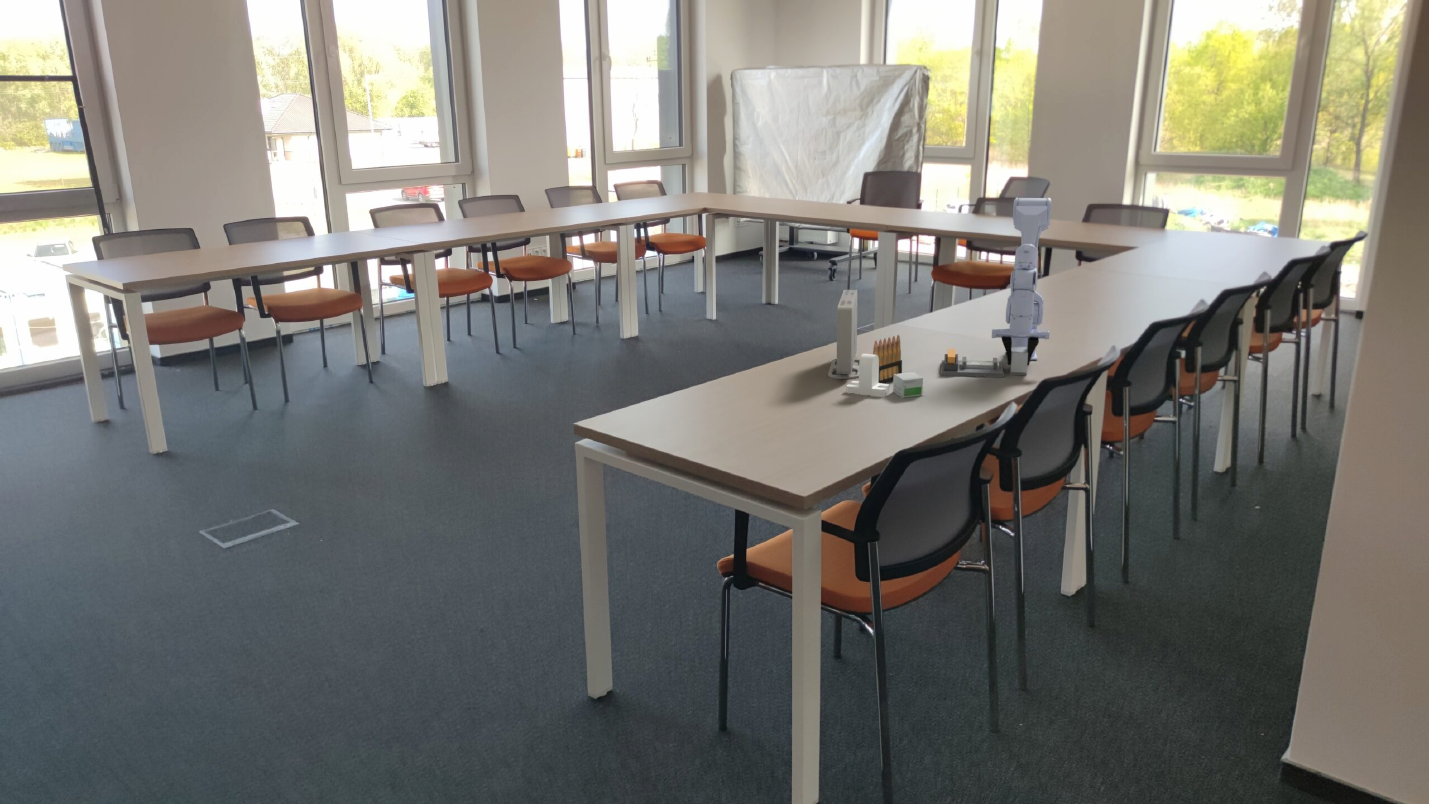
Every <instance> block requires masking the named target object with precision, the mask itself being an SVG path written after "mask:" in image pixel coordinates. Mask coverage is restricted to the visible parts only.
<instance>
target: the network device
mask: <svg viewBox="0 0 1429 804" xmlns="http://www.w3.org/2000/svg"><path fill="white" fill-rule="evenodd" d="M858 293H859V292H858V289H843V292H842V294H841V297H840V299H839V302H838V305H837V309H836V358H833V359H831V360H832V361H831V363H830V367H829V368H828V372H827V373H828V374H827V376H828V377H829V378H831V379H836V380H837V379H845V380H853V379H859V364H858V365H855V362H857V363H859V362H860V358H856V356H857V350H858V347H857V346H858V344H857V343H858ZM834 371H836V374H834V373H833V372H834ZM853 371H854V372H857V373H856V374H855V375H852V373H853Z"/></svg>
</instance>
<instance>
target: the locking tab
mask: <svg viewBox="0 0 1429 804" xmlns="http://www.w3.org/2000/svg"><path fill="white" fill-rule="evenodd" d="M947 354H948V357H947V363H955V354H956V348H954V349H953V348H948V349H947Z"/></svg>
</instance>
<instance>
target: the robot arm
mask: <svg viewBox="0 0 1429 804" xmlns="http://www.w3.org/2000/svg"><path fill="white" fill-rule="evenodd" d="M1052 202H1053V201H1052V199H1051V197H1047V198H1046V197H1041V198H1039V197H1036V198H1035V197H1015V199H1013V205H1012V206H1013V207H1012V219H1013V220H1012V221H1013V223H1012V224H1013V227H1014V229H1015V230H1017V231H1019V232H1020V234H1021V240H1020V245H1019V246H1018V247H1017V248H1016V249H1015V255H1014V262H1013V263H1014V264H1013V270H1011V273H1010V283H1009V285H1010V287H1009V288H1010V295H1009V296H1008V297H1007V301H1006V302H1007V303H1006V308H1005V323H1006V324H1007V325H1009V328H1001V329H1000V328H999V329H998V328H997V329H994V328H992V329H991V339H997V338H998V339H999V338H1001V342H1002V343H1003V346H1004V347H1003V348H1004V349H1005V352H1006V356H1007V365H1008V366H1010V365H1011V347H1026V348H1027V352H1028V361H1027V367H1028V366H1030V362H1031V360H1032V361H1038V356H1037V352H1036V350H1037V349H1036V348H1037V347H1038V345H1039V341H1040V340H1039V339H1041V340H1043V339H1044V340H1050V334H1051V333H1050V332H1051V331H1049V330H1042V329H1038V327H1039V326H1041V325H1042V324H1043V319H1044V309H1045V308H1044V306H1045V304H1044V301H1045V300H1044V298H1043V296H1042V295H1041V294H1039V292H1037V291H1036V290H1037V288H1038V275H1039V274H1038V259H1039V240H1040V236H1041V235H1042V233H1043V232H1044V231H1046V230H1048V229H1049V226H1050V225H1051V224H1050V223H1051V221H1050V220H1051V217H1052V216H1051V215H1052Z"/></svg>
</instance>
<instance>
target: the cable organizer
mask: <svg viewBox="0 0 1429 804" xmlns="http://www.w3.org/2000/svg"><path fill="white" fill-rule="evenodd" d="M859 359H860V362H858V363H859V364H858V365H859V378H858V380H851V381H850V384H847V385H846V392H847V393H846V394H850V393H855V394H854V395H859V394H860V396H861V395H862V396H867V395H870V397H876V396H877V397H878V398H884V397H885V396H886V394H889V393H890V384H889V383H886V384H883V383H878V382H879V358H878V355H873V353H872V354H870V353H862V354H861V356H860V358H859ZM877 397H876V398H877Z"/></svg>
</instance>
